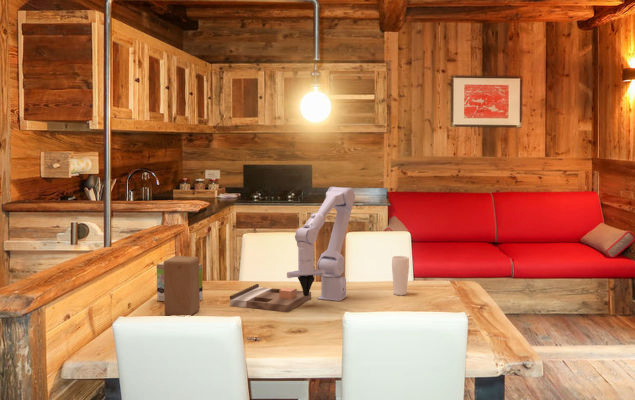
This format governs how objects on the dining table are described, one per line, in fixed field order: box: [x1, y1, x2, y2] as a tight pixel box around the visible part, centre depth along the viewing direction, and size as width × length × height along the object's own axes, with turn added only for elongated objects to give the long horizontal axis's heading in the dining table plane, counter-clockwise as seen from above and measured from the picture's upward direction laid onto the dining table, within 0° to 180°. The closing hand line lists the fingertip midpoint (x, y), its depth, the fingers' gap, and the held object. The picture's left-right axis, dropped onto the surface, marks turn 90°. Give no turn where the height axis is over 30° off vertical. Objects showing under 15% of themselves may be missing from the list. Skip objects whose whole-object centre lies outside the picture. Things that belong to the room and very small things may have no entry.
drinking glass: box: [391, 255, 410, 296], centre depth 260 cm, size 7×7×15 cm
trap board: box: [229, 283, 312, 313], centre depth 249 cm, size 24×22×4 cm
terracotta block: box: [279, 287, 298, 299], centre depth 246 cm, size 5×5×3 cm
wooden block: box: [162, 255, 201, 316], centre depth 233 cm, size 10×10×20 cm
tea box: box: [156, 262, 204, 302], centre depth 251 cm, size 15×10×15 cm, turn 62°
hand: (306, 295), depth 244 cm, fingers closed
